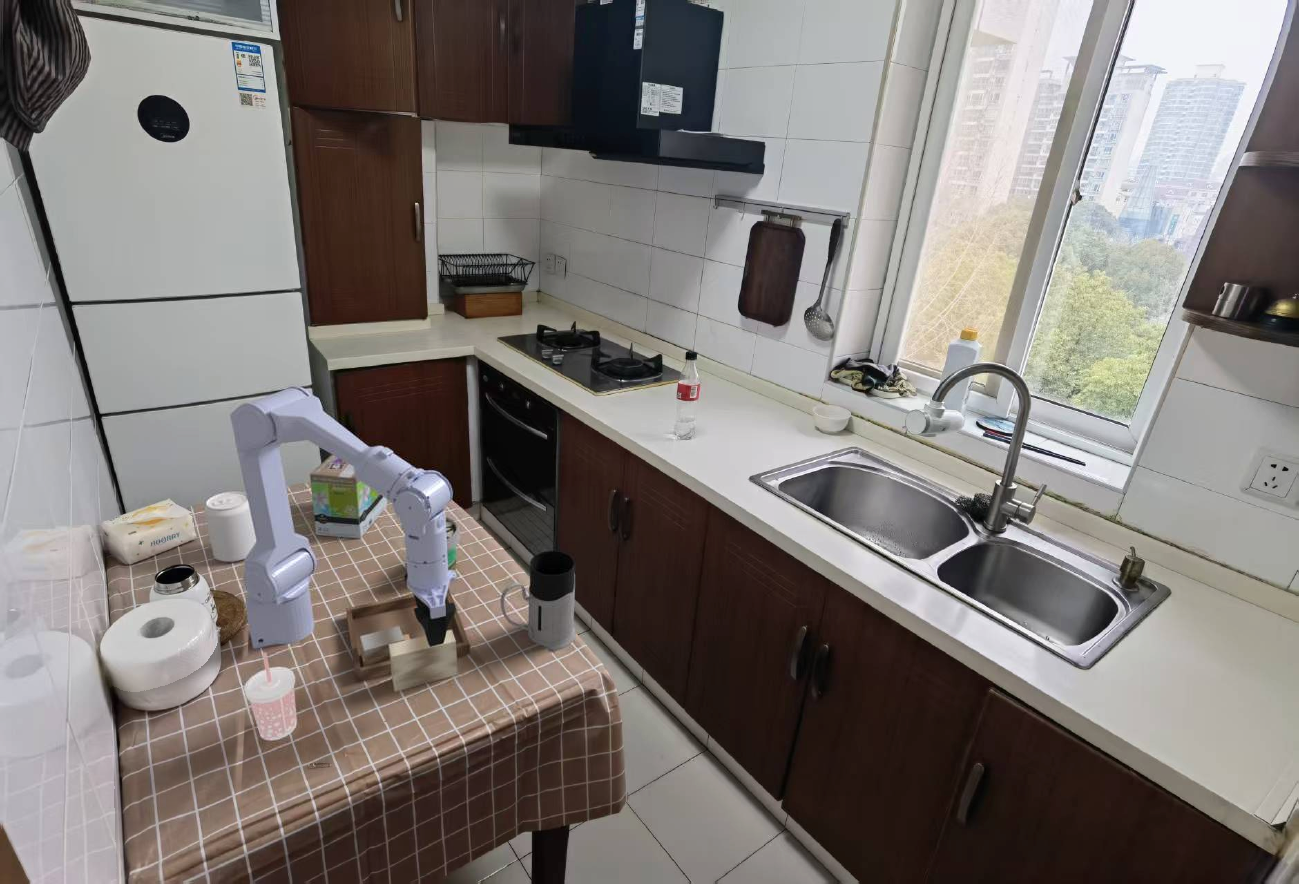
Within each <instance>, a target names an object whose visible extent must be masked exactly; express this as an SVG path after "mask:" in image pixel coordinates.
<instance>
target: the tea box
mask: <svg viewBox="0 0 1299 884" xmlns="http://www.w3.org/2000/svg"><path fill="white" fill-rule="evenodd" d="M309 481H310V488H311V499H312V507H313V517H314V527H315V535H317V536H325V537H335V538H336V537H337V538H349V539H350V538H351V539H361V538H362V537H363V535H365V533H366V532H367V531H368V530H369V529H370V527H371V526H373V524H374V522H375V521H376V520H378V518H379V516H380V515H381V514H382V513H383V512H384V510H385V509H386V508H387V507H388V499H386V498H385V497H383V496H382V495H380V494H379V493H377V492H376V491H374V490H373V489H371V488H370V487H368V486H367V485H365V484H364V483H362V482H361V481H360V480H358V479H357V478H356V476H355V472H354V467H353V466H352V465H350V464H348V463H347V462H345V461H343V460H341V459H340V458H338V457H336V456H334V455H333V454H330V456H329V457H328V458H326V459H325V460H324V461H323V462H321V464H320V465H318V466H317V467H316V468H315V469H314V470H313V471H311V472H310V473H309Z"/></svg>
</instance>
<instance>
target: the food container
mask: <svg viewBox="0 0 1299 884" xmlns="http://www.w3.org/2000/svg"><path fill="white" fill-rule="evenodd" d="M446 536H447V558H448V571H449V570H454V571H455V572H456V569H457V566H456V565H457V551H458V550H457V549H458V543H459V542H460V540H461V531H460V529H459V526H458V525H457V523H456V522H455V521H454V520H453V519H452V518H450V517H448V516H446Z"/></svg>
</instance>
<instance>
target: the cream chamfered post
mask: <svg viewBox="0 0 1299 884" xmlns="http://www.w3.org/2000/svg"><path fill="white" fill-rule="evenodd" d="M389 653H390V663H391V674H390V675H391V681H392V685H393V690H394V692H399V691H402V690H407V689H409V688H413V687H417V686H422V685H426V684H429V683H432V682H437V681H439V680H444V679H448V678H452V677H456V676H458V657H457V653H456V640H455V637H454V634H453V631H452V630H448V631H447V632H446V637H445V641H444V643H443V644H440V645H436V646H432V647H430V646H429V644H428V641H427V638H426V636H422V637H418V638H414V639H410V640H405V641H401V642H397V643H393V644H389Z"/></svg>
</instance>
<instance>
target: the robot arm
mask: <svg viewBox="0 0 1299 884" xmlns="http://www.w3.org/2000/svg"><path fill="white" fill-rule="evenodd" d="M229 416H230V421H231V426H232V431H233V434H234V442H235V446H236V452H237V455H238V461H239V465H240V470H241V475H242V480H243V483H244V484H243V485H244V489H245V493H246V494H247V499H248V503H249V508H250V513H251V517H252V522H253V527H254V531H255V536H256V543H255V545H254V546H253V548H252V549H251V551H250V552H249V554H248V555H247V557H246V558H245V559H243V565H244V573H243V585H244V588H245V590H246V592H247V594H246V596H245V606H246V607H245V609H246V610H245V611H246V617H247V624H248V632H249V636H250V638H251V645H252V649H255V650H256V649H261V648H265V647H269V646H270V647H271V646H275V645H286V644H294V643H297V642H299V641H301V640H303V639H305V638H307V637H308V636H309V635H310V634H312V632H313V631H314V629H315V620H314V612H313V607H312V601H311V600H312V599H311V592H310V583H311V582H312V574H314V573H315V571H317V567H318V561H317V557H316V554H315V553H314V551H313V550H312V548H311V546H310V541H309V539H308V537H305V536H304V535H302V534H299V533H296V532H295V527H294V522H293V517H292V512H291V510H292V509H291V506H290V502H289V496H288V495H289V494H288V490H287V486H286V485H287V484H286V479H285V474H284V468H283V464H282V458H281V452H280V445H282V444H287V443H295V442H296V443H297V442H303V441H307V442H310V443H312V444H313V445H315V446H317V447H319V448H320V449H323V450H324V451H326V452H328V453H329V454H330V455H332V454H333V455H334V456H336V457H338V458H340V459H341V460H343V461H345V462H347V463H348V464H350V465H352V466H353V467H354V472H355V476H356V478H357V479H358V480H360V481H361V482H362V483H364V484H365V485H367V486H368V487H370V488H371V489H373V490H374V491H376V492H377V493H379V494H380V495H382V496H383V497H385V498H386V499H387V501H389V502H391V504H392V508H393V512H394V513H395V514H396V516H397V517H398V518H399V521H400V524H401V530H403V533H404V542H405V543H404V544H405V557H406V570H407V572H406V573H405V574H404V575H403V578H404V581H405V583H406V587H407V589H408V590H409V591H410V592H411V593H412V595H413V594H414V597H415V600H416V604H417V608H414V612H415V616H416V618H417V620H418V622H419V623H420V624H421V625H422V626H423V628H424V631H425V634H426V638H427V641H428V644H429V646H430V647H432V646H436V645H440V644H443V643H444V641H445V637H446V632H447V628H448V625H449V622H450V620H451V619H452V617H453V616H454V614H455V612H456V609H457V607H455V606H456V604H455V602H453V603H449V604H445V599H446V595H447V591H448V588H449V587H450V583H451V582H455V581H456V580H457V573H456V570H455V571H454V570H449V571H448V558H447V536H446V517H447V516H446V509H445V508H447V506H448V505H449V504H450V503H451V502H452V499H453V494H454V492H453V488H452V485H451V483H450V482H449V480H448V479H447V478H446V477H445V476H443V475H442V473H440V472H439V471H437V470H430V469H429V470H424V469H423V468H416V467H415V466H413V465H411V463H409V462H407V461H406V460H404V459H402V458H401V457H400V456H398V455H396V454H395V453H394V451H393V450H392V449H390V448H389V447H387V446H384V445H375V446H369V445H367V444H366V443H364V441H362V440H361V439H359V438H358V437H357V436H356V435H354V434H353V433H352V432H351V431H349V430H348V429H347V428H346V427H344V426H343V425H342V424H340V423H339V422H338V421H337V420H335V419H334V418H333V417H331V416H330V415H329V414H327V412H325V411H324V408H323V406H322V402H321V401H320V398H319V397H317V396H316V395H313V394H311V393H310V392H309V390H307V389H306V388H304V387H301V386H299V385H291V386H289V387H287V388H285V389H284V390H280V391H277V392H275V393H272V394H270V395H267V396H264V397H261V398H258V399H255V400H252V401H250V402H245V403H242V404H240V405H239V406H238V407H236V408H235V409H234V410H233V411H232V412H231V413H230V415H229Z"/></svg>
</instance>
